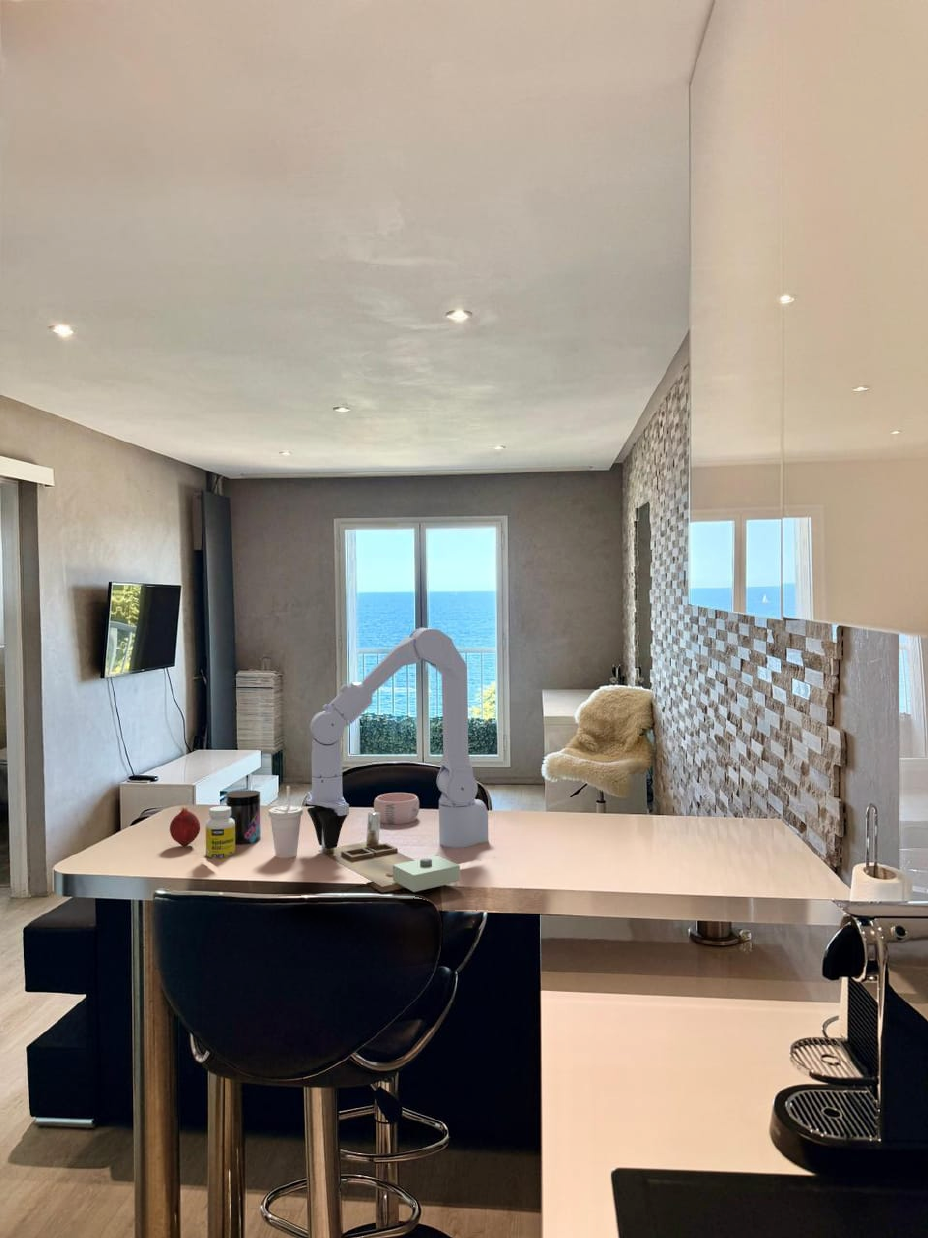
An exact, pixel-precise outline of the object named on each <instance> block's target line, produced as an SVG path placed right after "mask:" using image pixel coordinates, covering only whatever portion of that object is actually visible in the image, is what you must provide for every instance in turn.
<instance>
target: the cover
mask: <svg viewBox="0 0 928 1238" xmlns="http://www.w3.org/2000/svg"><path fill="white" fill-rule="evenodd" d="M413 860H414V861H409V862H404V863H399V864H394V865H393V881H394V882H396V883H398V884H400V885H402V886H404V887H406V888H405V889H407V890H410V891H411V892H413V893H416V892H421V891H424V890H427V889H428V890H429V889H433V888H437V887H442V886H446V885H450V884H451V885H452V884H454V883H460V881H461V866H460V864H458V863H456V862H453V861H451V860H448V859H446V858H444V857H442V856H439V855H434V856H429V857H424V858H421V859H419V858H418V859H413Z"/></svg>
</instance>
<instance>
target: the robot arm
mask: <svg viewBox="0 0 928 1238" xmlns="http://www.w3.org/2000/svg"><path fill="white" fill-rule="evenodd" d="M420 660H421V661H422V662H423V661H424V662H425V663H428V664H430V666H431V667H433V668H434V670H436V671H437V672H438V673H440V675H441V700H442V701H441V702H442V703H441V704H442V707H441V708H442V710H441V712H442V714H441V715H442V749H443V750H442V755H441V759H440V769H439V771H438V773H437V777H436V786H437V788H438V790H439V791H440V792H441V794H440V797H439V799H438V827H439V828H438V829H439V830H438V831H439V832H438V833H439V834H438V840H439V843H438V844H439V845H440V846H443V847H447V848H458V849H459V848H465V847H466V848H467V847H471V846H474V845H477V844H481V843H482V844H483V843H486V842H489V814H488V813H489V811H488V807H487V805H486V804H485V802H484V801H483V800H481V799H478V798H477V799H476V796H477V794H478V790H479V788H478V786H479V785H478V782H477V780H476V778H475V777H474V772H473V769H474V768H473V764H472V761H471V758H470V755H469V718H468V717H469V712H468V711H469V710H468V707H469V706H468V668H467V664H466V661H465V660H464V658H463V657H462V656H461V653H460V652H459V650H458V649H457V647H456V646H455V644H454V641H453V639H452V638H451V637H450V636H449V635H447V634H445V633H444V632H443V631H441V630H440V629H438V628H427V627H420V628H416V629H414V630H413V631H412V632H411V633H410V634H409V636H406V637H404V638H403V639H402V640H401V641H400V642H398V643H397V644H396V645H395V646H394V647H393V648H392V649H391V650H390V651H389V652H388V653H387V655H385V656H384V658H382V659H381V660H380V662H378V663H377V665H376V666H375V667H374V668H373V669H372V670H371V671H370V672H369V673H368V674H367V675H366V676H365V678H363V679H362V680H361V681H357V682H355V681H353V682H351V681H350V683H349V684H348V685H347V684H343V685H342V686H341V687H340V690H341V692H340V693H339V694H337V695H336V697H335V698H333V700H331V701H330V702H329V703H328V704H327V703H325V704H324V705H323V706H322V708H323V711H320V712H317V713H316V714H315V715H313V717H312V719H311V722H310V724H309V732H310V734H311V735H312V736H313V738H312V741H311V748H312V750H311V791H307V798H306V800H305V801H306V804H307V805H309V806H312V805H313V806H312V807H309V808H307V814H309V816H310V818H311V821H312V823H313V826H314V830H315V833H316V837H317V841H318V845H319V846H322V829H323V836H324V844H325V847H326V849H330V848H336V847H338V844H339V840H340V836H341V835H340V834H341V830H342V828H343V825H344V823H345V821H346V819H347V818H348V816H349V815H350V804H349V803H347V802H346V799H345V798H344V795H343V751H342V744H341V741H342V737H343V736H344V733H345V728H346V727H350V725H352V724H353V722H355V721H356V720H357V719H358V718H359V717H360V716H361V715H362V714H363V713H364V712H365V711H366V710H367V709H369V707H371V706H372V704H373V696H374V695H373V694H374V693H375V692H376V691H378V689H380V688H381V687H382V686H383V685H384V684H385V683H386V682H387V681H389V679H390V678H392V677H393V676H394V675H395V674H396V673H397V672H398V671H399V670H400V669H401V668H403V667H406V666H409V665H414V664H418V663H420Z"/></svg>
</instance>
